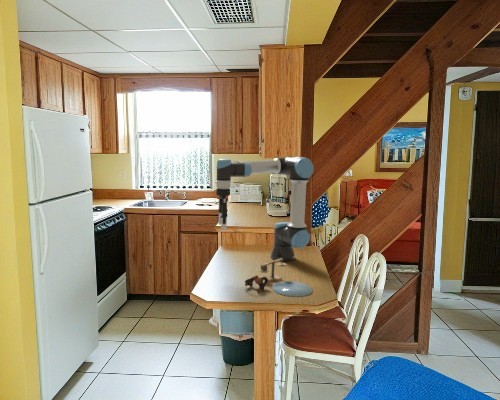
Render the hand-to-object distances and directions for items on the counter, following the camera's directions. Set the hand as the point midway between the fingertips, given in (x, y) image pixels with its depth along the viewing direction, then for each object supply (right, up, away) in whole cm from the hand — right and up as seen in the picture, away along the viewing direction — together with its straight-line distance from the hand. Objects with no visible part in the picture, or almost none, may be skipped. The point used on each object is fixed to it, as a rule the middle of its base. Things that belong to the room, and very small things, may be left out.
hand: (222, 227), depth 221 cm
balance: (+27, -28, -2) cm, 39 cm away
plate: (+36, -30, -16) cm, 50 cm away
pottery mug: (+18, -30, -17) cm, 39 cm away
